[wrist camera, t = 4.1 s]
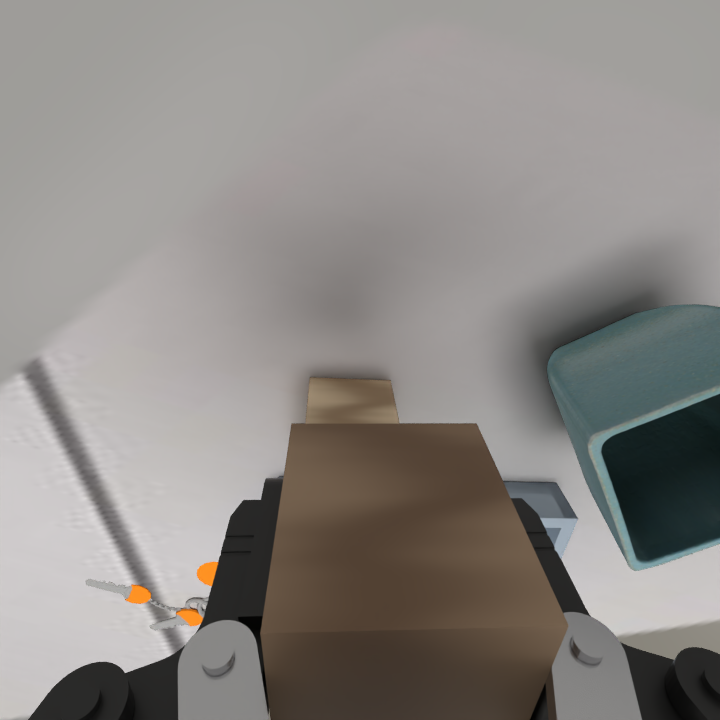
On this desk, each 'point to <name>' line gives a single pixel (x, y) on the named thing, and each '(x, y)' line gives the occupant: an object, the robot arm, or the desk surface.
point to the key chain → (143, 595)
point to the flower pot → (648, 427)
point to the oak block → (350, 401)
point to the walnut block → (403, 581)
